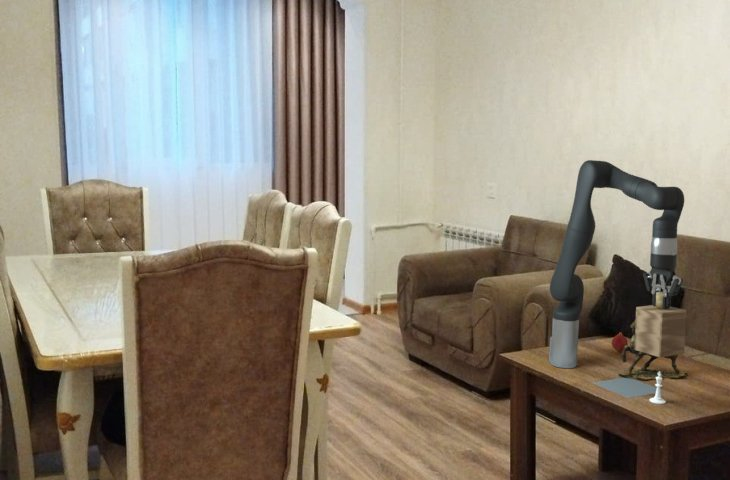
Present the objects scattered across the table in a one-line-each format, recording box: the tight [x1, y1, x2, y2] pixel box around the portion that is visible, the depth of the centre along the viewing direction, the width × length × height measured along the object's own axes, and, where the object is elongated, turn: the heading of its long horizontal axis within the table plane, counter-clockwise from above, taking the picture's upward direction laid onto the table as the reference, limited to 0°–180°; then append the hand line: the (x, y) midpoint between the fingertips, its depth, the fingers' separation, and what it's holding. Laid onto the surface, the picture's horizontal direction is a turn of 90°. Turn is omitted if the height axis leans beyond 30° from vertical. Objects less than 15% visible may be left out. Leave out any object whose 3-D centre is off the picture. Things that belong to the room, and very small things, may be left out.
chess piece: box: [648, 371, 667, 405], centre depth 231 cm, size 5×5×10 cm
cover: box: [634, 291, 687, 358], centre depth 230 cm, size 10×10×19 cm
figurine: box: [618, 319, 689, 382], centre depth 257 cm, size 13×25×20 cm, turn 96°
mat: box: [592, 377, 665, 399], centre depth 245 cm, size 16×16×1 cm
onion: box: [611, 331, 629, 353], centre depth 287 cm, size 6×6×8 cm
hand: (661, 307), depth 229 cm, fingers closed on cover, 3 cm apart
